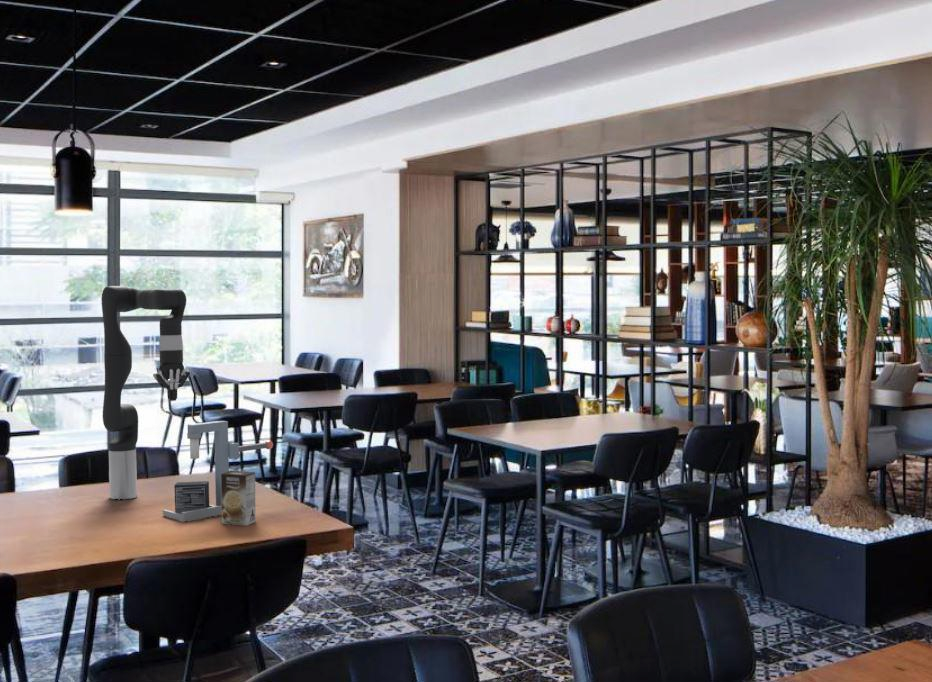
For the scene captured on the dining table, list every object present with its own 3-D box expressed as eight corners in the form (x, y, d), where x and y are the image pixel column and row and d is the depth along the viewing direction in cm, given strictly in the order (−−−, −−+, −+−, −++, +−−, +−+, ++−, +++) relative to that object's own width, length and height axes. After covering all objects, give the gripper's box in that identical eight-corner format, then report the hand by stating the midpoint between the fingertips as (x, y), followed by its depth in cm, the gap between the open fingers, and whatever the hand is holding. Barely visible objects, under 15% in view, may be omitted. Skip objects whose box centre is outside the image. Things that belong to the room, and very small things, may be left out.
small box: (210, 511, 340) (209, 480, 340) (207, 515, 334) (207, 483, 333) (177, 512, 339) (176, 481, 338) (174, 517, 332) (173, 485, 332)
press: (162, 516, 334) (160, 424, 332) (223, 505, 350) (221, 418, 348) (183, 522, 324) (181, 428, 323) (244, 510, 340) (243, 421, 339)
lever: (274, 449, 353) (274, 440, 352) (229, 455, 340) (229, 446, 340) (269, 448, 355) (269, 439, 355) (225, 454, 342) (224, 445, 342)
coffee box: (220, 524, 321) (219, 473, 320) (231, 519, 327) (230, 470, 326) (246, 526, 318) (245, 475, 317) (256, 521, 324) (255, 471, 323)
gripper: (183, 347, 347) (184, 398, 348) (147, 349, 338) (148, 401, 339) (194, 348, 342) (196, 399, 343) (158, 350, 333) (159, 403, 334)
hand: (172, 400), depth 341 cm, fingers closed
